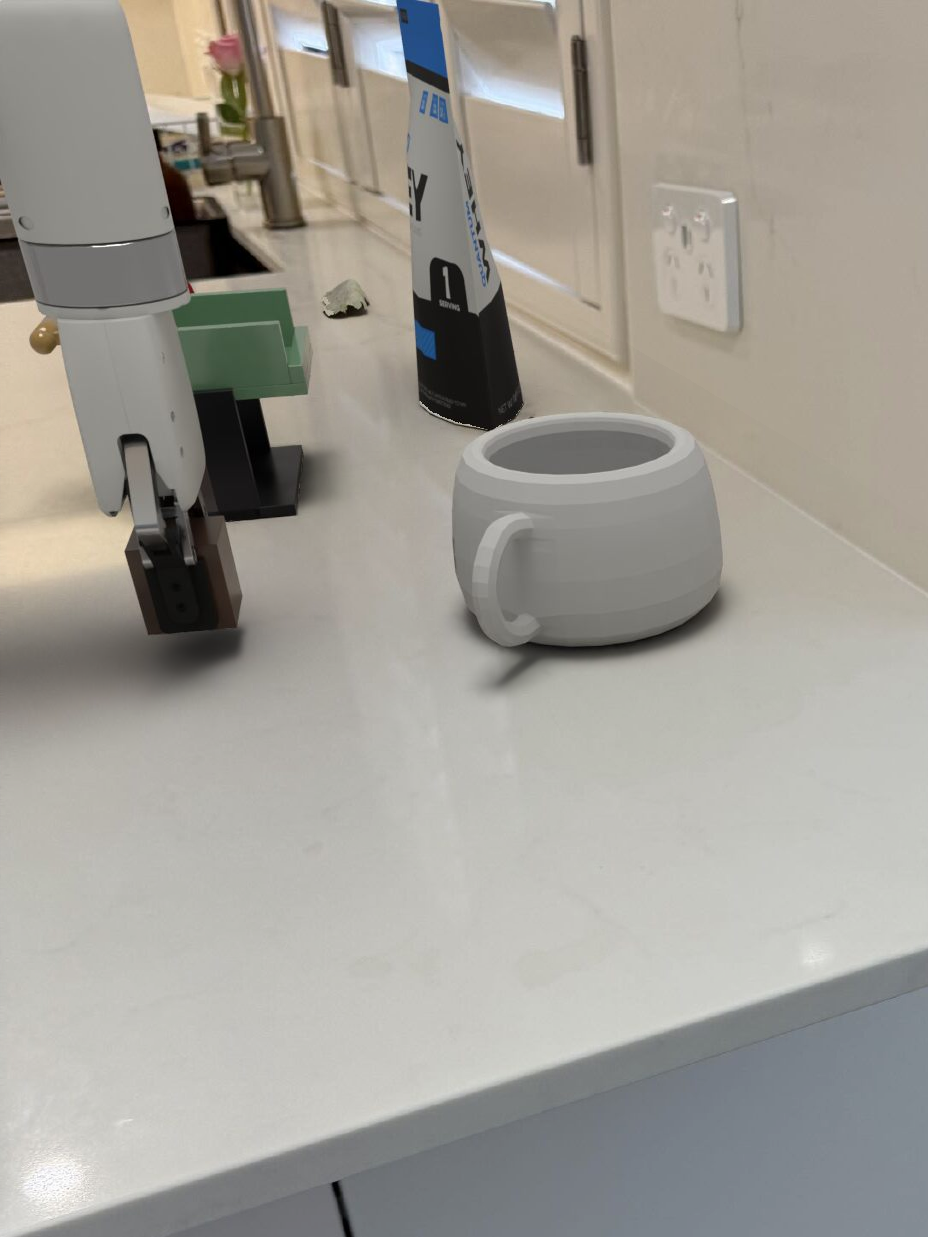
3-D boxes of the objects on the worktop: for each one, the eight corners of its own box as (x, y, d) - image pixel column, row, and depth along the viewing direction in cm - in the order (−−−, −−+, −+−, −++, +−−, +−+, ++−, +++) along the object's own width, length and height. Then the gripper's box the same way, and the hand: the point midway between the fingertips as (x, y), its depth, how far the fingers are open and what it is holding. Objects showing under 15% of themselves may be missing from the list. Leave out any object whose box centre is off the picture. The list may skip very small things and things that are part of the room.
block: (148, 635, 78) (123, 551, 75) (158, 603, 82) (135, 521, 79) (237, 628, 79) (216, 544, 76) (242, 596, 83) (223, 515, 80)
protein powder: (497, 363, 135) (450, -7, 117) (547, 427, 117) (502, 1, 99) (402, 373, 133) (339, -2, 115) (439, 440, 115) (371, 7, 96)
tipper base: (185, 525, 99) (150, 396, 94) (204, 462, 111) (174, 345, 106) (296, 515, 101) (268, 387, 95) (303, 454, 113) (278, 337, 107)
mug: (540, 545, 94) (522, 394, 88) (763, 572, 89) (760, 414, 83) (367, 670, 79) (331, 498, 72) (625, 712, 74) (610, 530, 67)
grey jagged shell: (320, 296, 162) (332, 262, 160) (358, 316, 164) (371, 283, 162) (323, 322, 153) (336, 287, 151) (363, 343, 155) (377, 308, 154)
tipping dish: (40, 416, 94) (16, 342, 91) (71, 371, 104) (50, 303, 101) (308, 394, 97) (292, 322, 94) (313, 352, 107) (299, 286, 104)
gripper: (59, 248, 75) (147, 565, 87) (-5, 312, 62) (109, 677, 73) (199, 242, 77) (268, 556, 88) (165, 305, 64) (251, 664, 75)
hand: (194, 608), depth 80 cm, fingers closed on block, 5 cm apart
